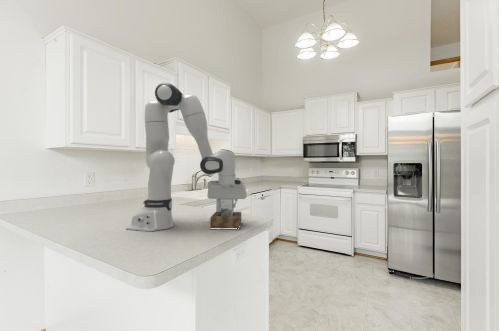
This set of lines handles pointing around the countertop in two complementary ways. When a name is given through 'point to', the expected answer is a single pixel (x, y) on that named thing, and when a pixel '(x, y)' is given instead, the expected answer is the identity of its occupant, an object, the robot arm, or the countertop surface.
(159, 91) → the robot arm
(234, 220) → the walnut caddy
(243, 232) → the countertop surface
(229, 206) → the syrup box
